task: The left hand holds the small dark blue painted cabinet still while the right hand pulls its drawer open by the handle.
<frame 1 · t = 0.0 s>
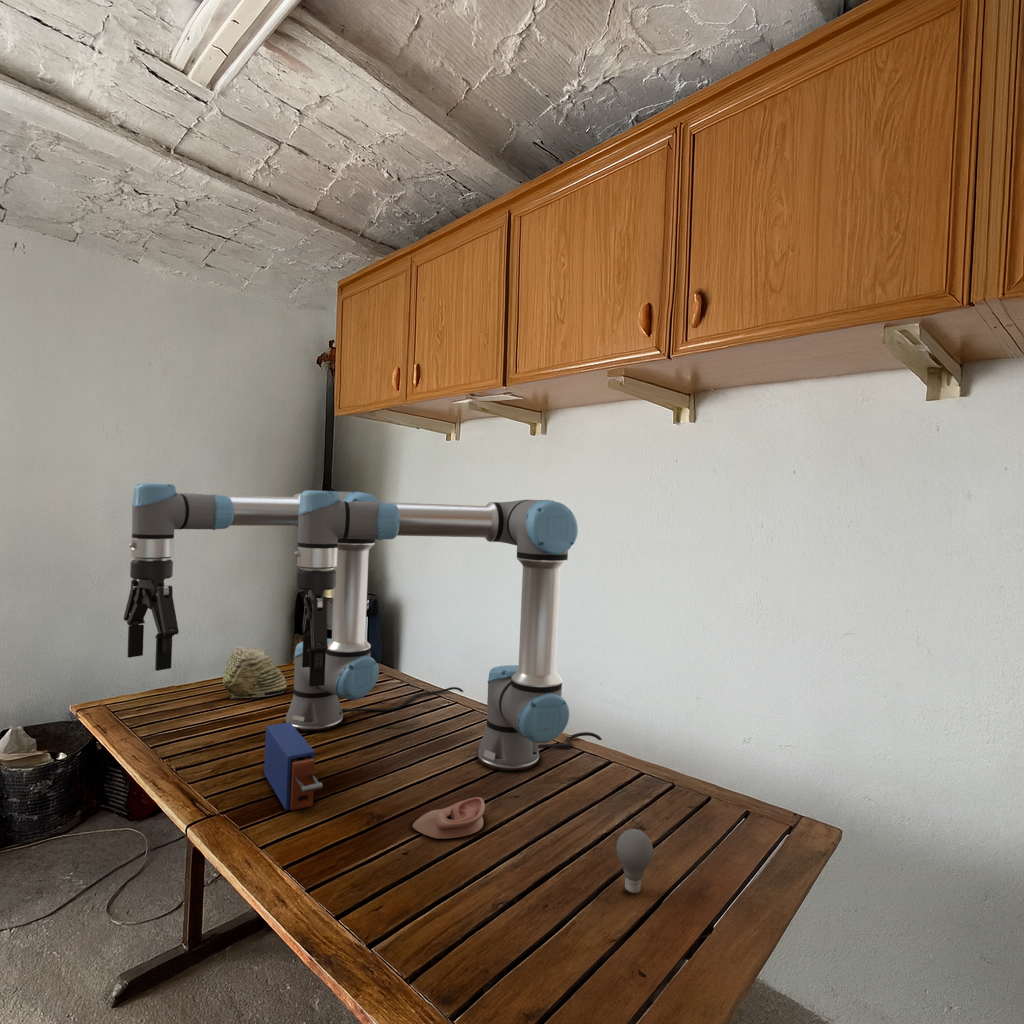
left hand: (148, 662, 129), 28 cm above the table, tool pointing down, fingers open, 13 cm apart
right hand: (312, 675, 125), 28 cm above the table, tool pointing down, fingers open, 13 cm apart
light bulb: (632, 891, 106), on the table
drawer: (295, 773, 132), point 5 cm above the table, slide at 1.0 cm
anatomical model: (449, 825, 124), on the table
fossil: (254, 694, 198), on the table
cabinet: (287, 788, 137), on the table
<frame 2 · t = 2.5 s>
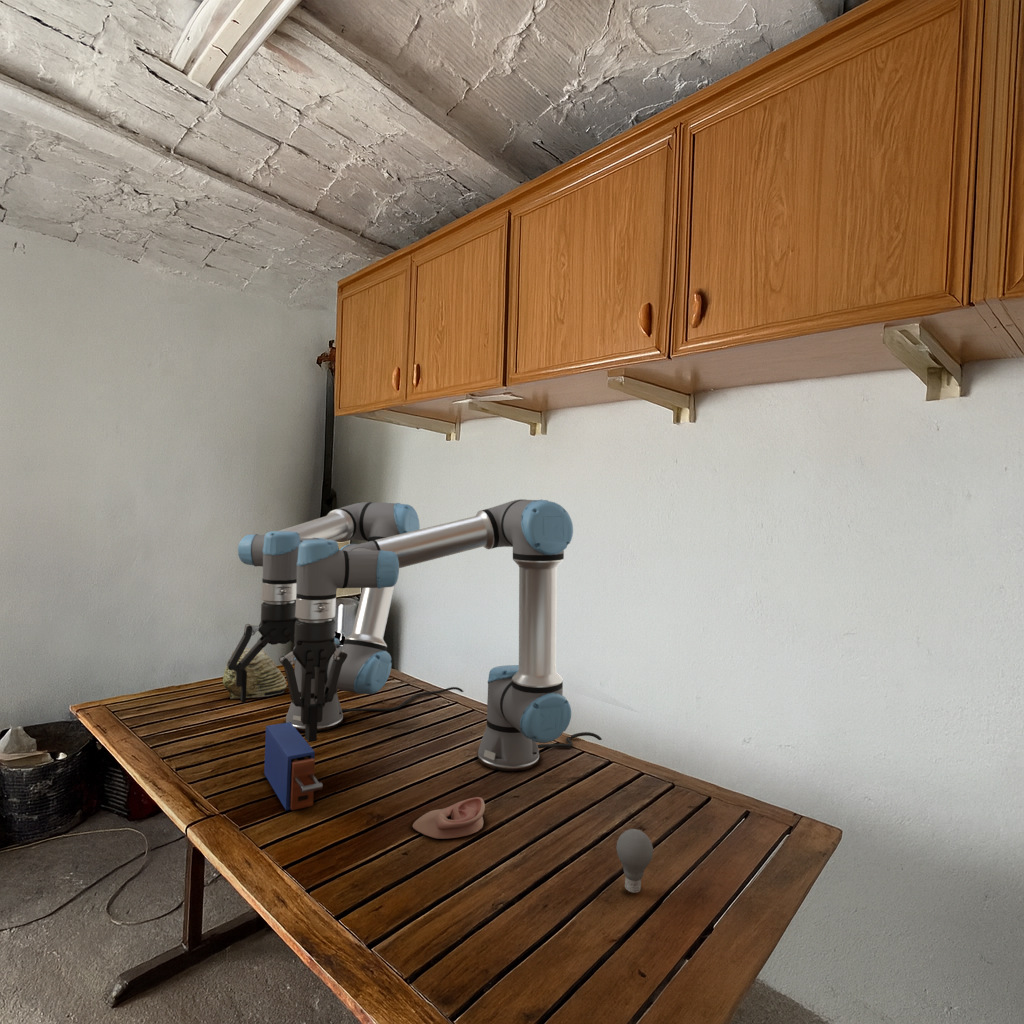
left hand: (276, 697, 140), 19 cm above the table, tool pointing down, fingers open, 13 cm apart
right hand: (310, 739, 124), 16 cm above the table, tool pointing down, fingers closed
nothing on the table moved.
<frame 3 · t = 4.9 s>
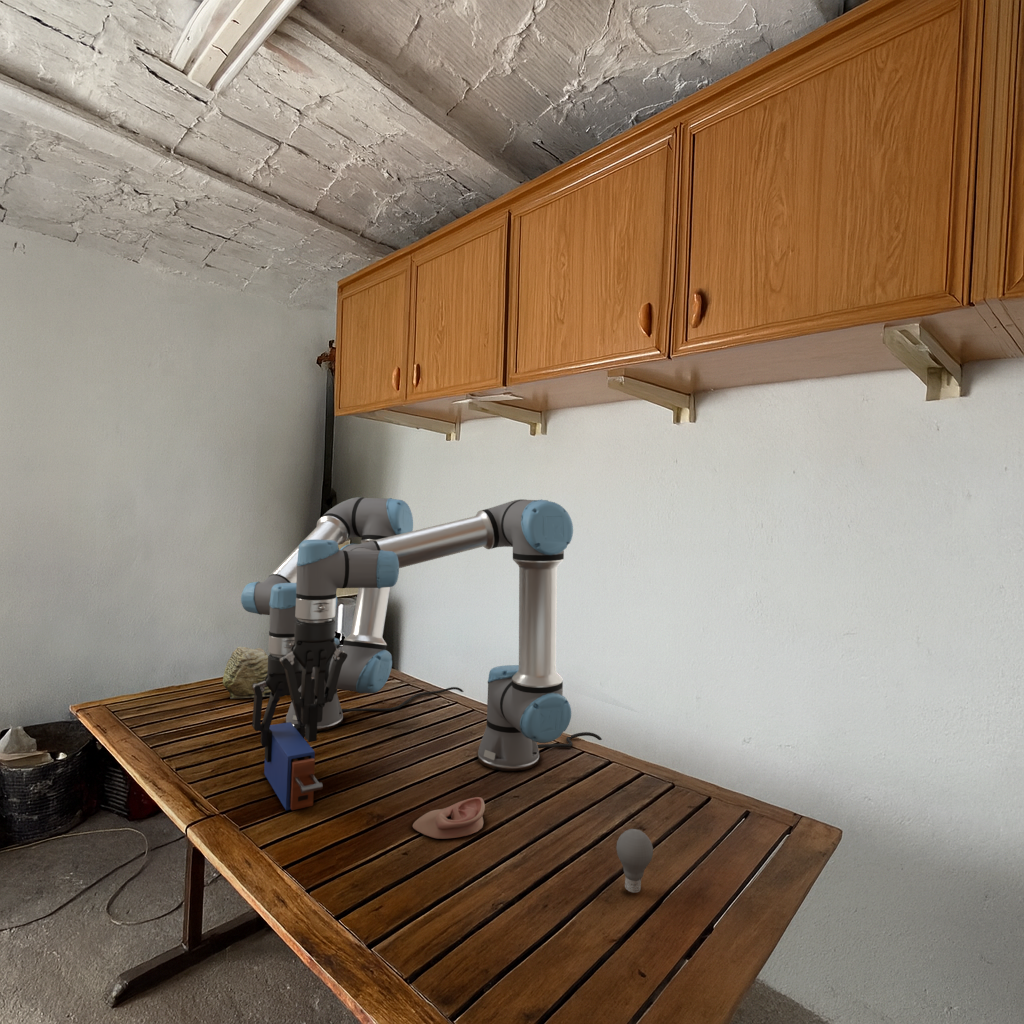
left hand: (282, 756, 141), 5 cm above the table, tool pointing down, fingers closed on cabinet, 5 cm apart
right hand: (310, 739, 124), 16 cm above the table, tool pointing down, fingers closed
cabinet: (287, 788, 137), on the table, touching left hand
everything else where it was.
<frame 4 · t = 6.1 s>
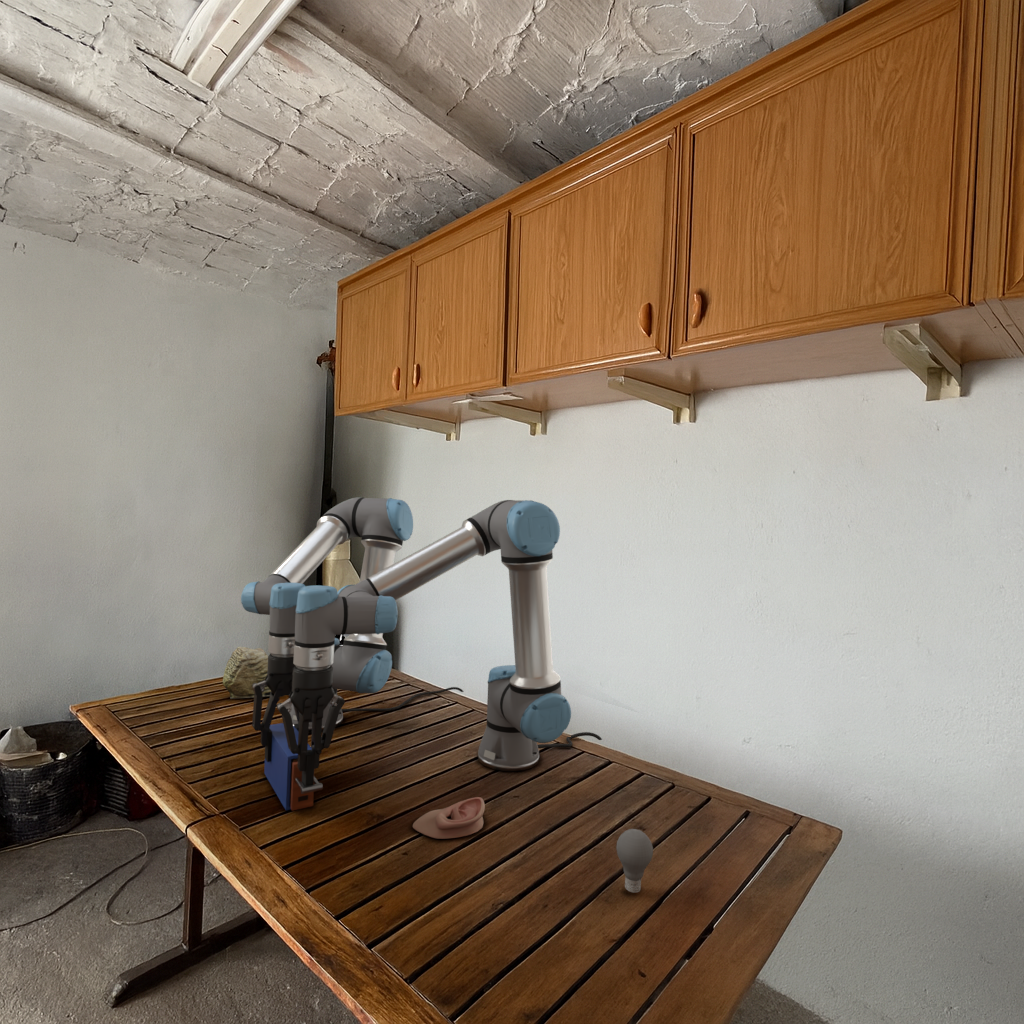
left hand: (282, 756, 141), 5 cm above the table, tool pointing down, fingers closed on cabinet, 5 cm apart
right hand: (307, 785, 124), 7 cm above the table, tool pointing down, fingers closed
cabinet: (287, 788, 137), on the table, touching left hand
everything else where it was.
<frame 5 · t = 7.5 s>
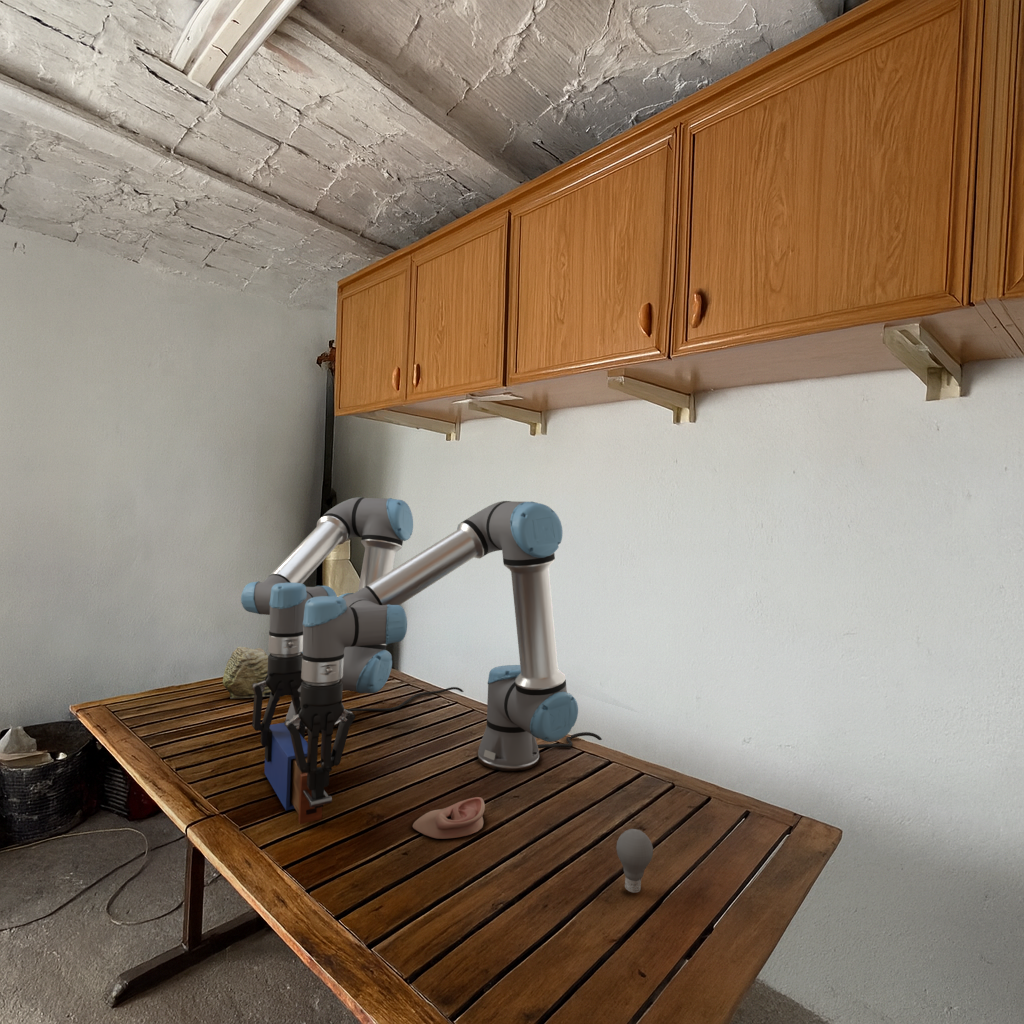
left hand: (282, 756, 141), 5 cm above the table, tool pointing down, fingers closed on cabinet, 5 cm apart
right hand: (317, 804, 119), 6 cm above the table, tool pointing down, fingers closed
drawer: (303, 785, 127), point 5 cm above the table, slide at 6.9 cm, touching right hand
cabinet: (287, 788, 137), on the table, touching left hand
everything else where it was.
when the left hand's fingers open (5 cm above the table, at t = 9.1 s): cabinet stays where it is, on the table.
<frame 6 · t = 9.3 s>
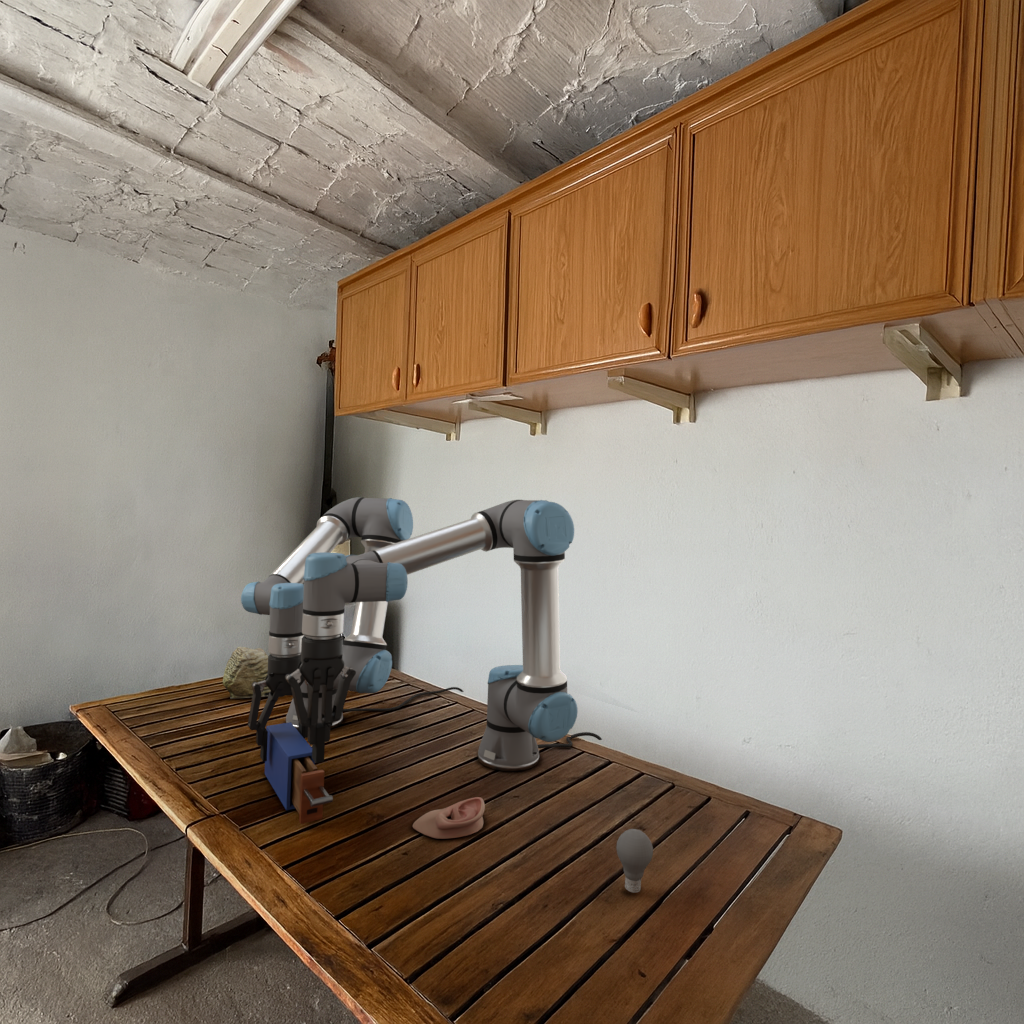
left hand: (282, 755, 141), 5 cm above the table, tool pointing down, fingers open, 7 cm apart
right hand: (317, 759, 119), 14 cm above the table, tool pointing down, fingers closed
drawer: (303, 785, 127), point 6 cm above the table, slide at 7.0 cm
cabinet: (287, 788, 137), on the table
everything else where it was.
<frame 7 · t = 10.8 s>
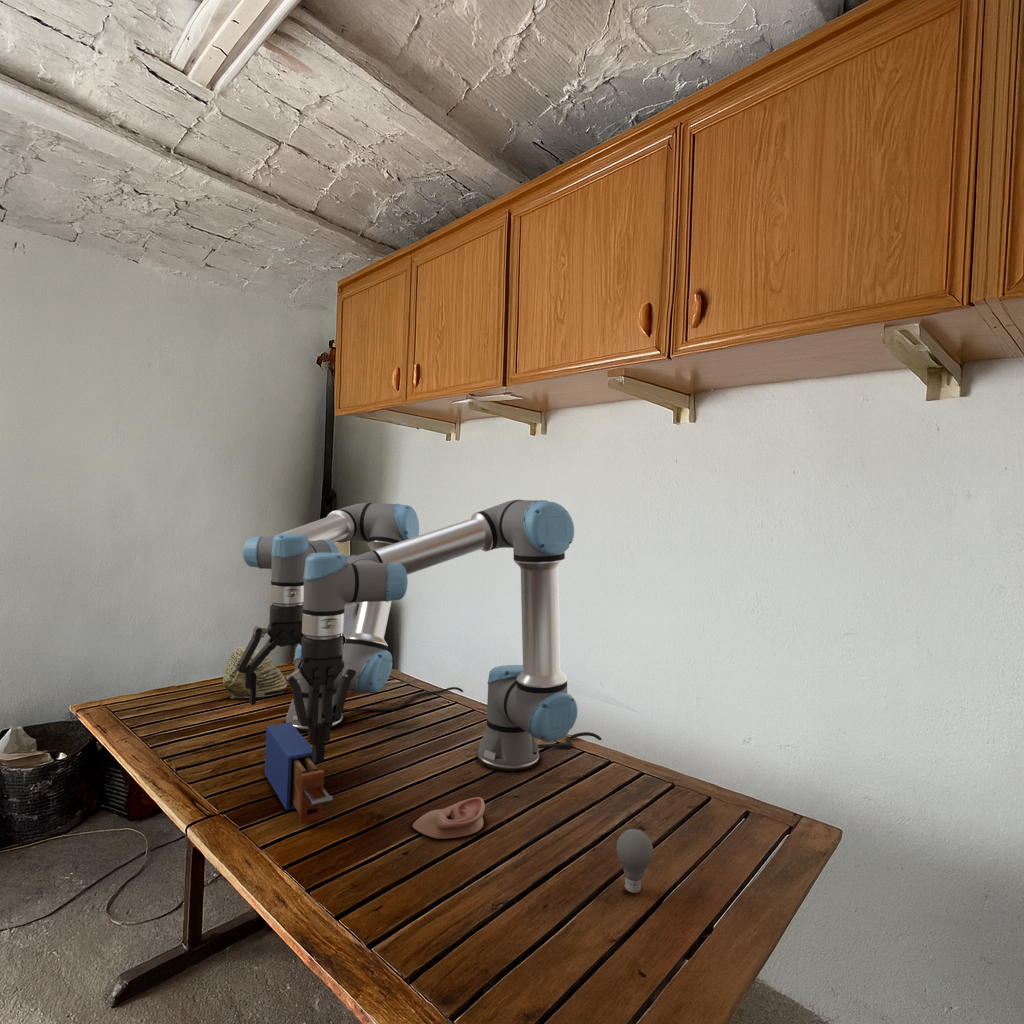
left hand: (284, 698, 141), 18 cm above the table, tool pointing down, fingers open, 13 cm apart
right hand: (317, 759, 119), 14 cm above the table, tool pointing down, fingers closed
nothing on the table moved.
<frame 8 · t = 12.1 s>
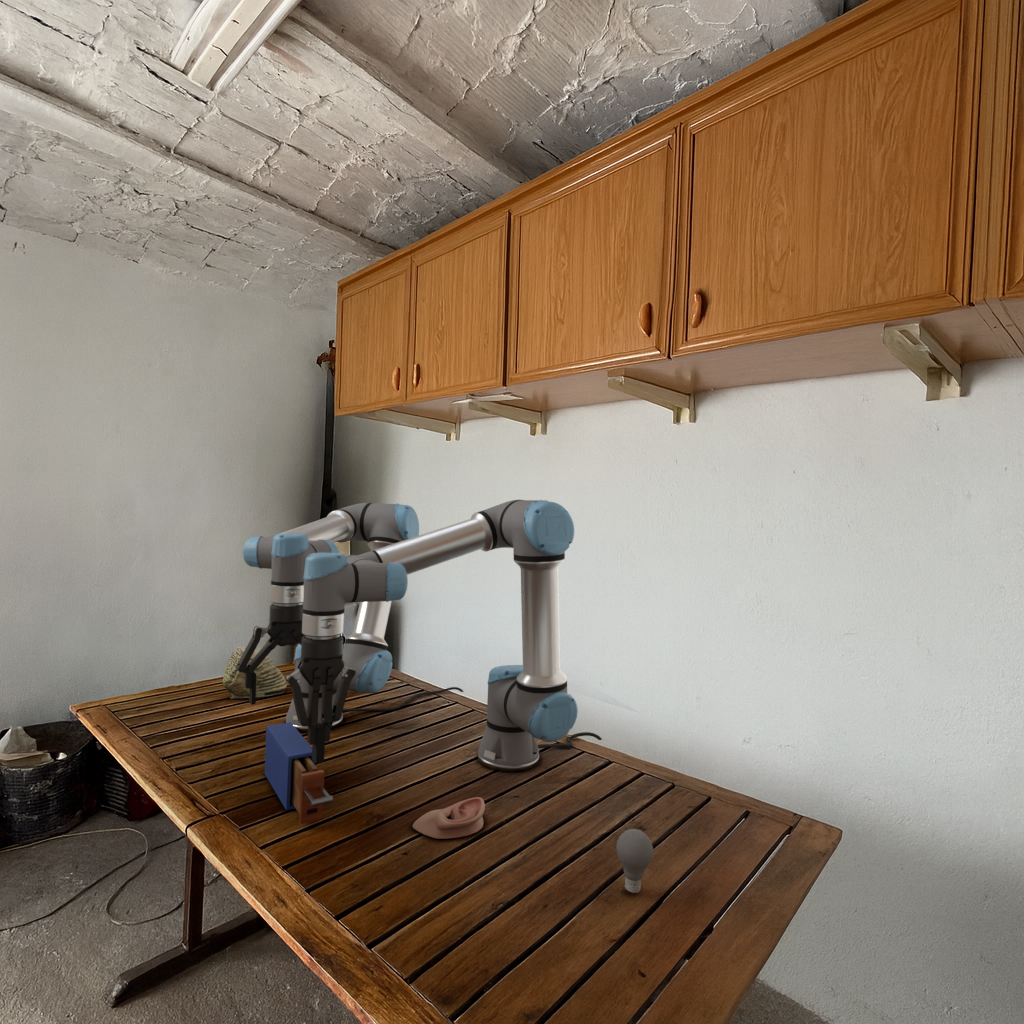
left hand: (284, 698, 141), 18 cm above the table, tool pointing down, fingers open, 13 cm apart
right hand: (317, 759, 119), 14 cm above the table, tool pointing down, fingers closed
nothing on the table moved.
at the end: drawer slide at 7.0 cm; cabinet tilted 0°; cabinet never tilted more than 1° during the clip; cabinet moved 0.1 cm from its start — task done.
